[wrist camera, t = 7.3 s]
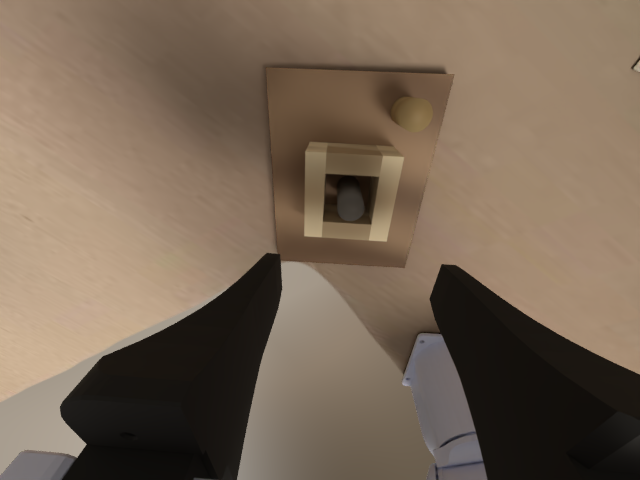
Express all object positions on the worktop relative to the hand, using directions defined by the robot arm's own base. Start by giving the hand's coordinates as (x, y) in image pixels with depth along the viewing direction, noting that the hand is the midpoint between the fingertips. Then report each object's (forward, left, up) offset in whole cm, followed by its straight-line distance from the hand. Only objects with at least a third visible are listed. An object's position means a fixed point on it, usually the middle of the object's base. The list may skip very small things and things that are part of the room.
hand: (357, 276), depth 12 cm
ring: (+1, 0, -9) cm, 9 cm away
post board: (+1, 0, -10) cm, 10 cm away
